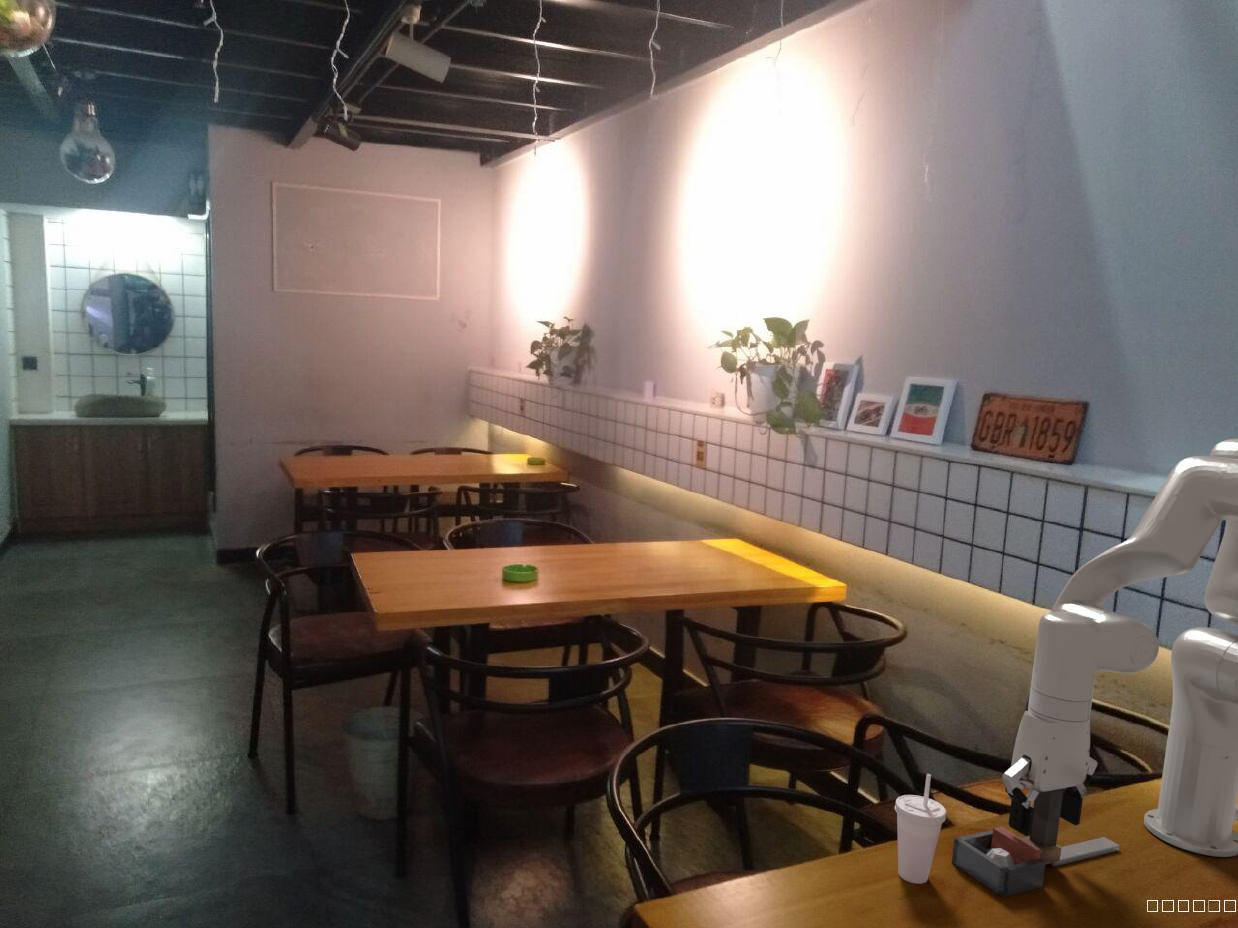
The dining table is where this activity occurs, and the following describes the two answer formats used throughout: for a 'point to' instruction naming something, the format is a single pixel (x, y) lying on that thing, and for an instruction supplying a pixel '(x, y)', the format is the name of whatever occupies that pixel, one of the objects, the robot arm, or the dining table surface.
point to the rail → (1086, 850)
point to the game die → (1001, 857)
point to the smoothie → (917, 834)
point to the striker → (1035, 832)
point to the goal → (995, 866)
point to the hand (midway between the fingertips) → (1044, 825)
